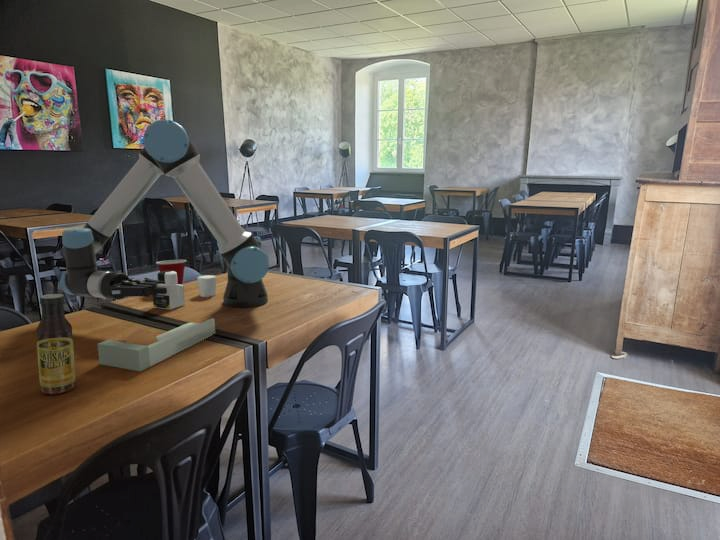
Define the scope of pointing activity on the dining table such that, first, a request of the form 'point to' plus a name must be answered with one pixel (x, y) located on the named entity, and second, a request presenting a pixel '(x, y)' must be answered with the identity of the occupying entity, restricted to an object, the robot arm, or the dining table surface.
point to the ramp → (154, 347)
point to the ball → (142, 338)
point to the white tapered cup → (207, 285)
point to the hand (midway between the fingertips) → (178, 290)
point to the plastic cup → (173, 268)
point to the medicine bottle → (169, 301)
